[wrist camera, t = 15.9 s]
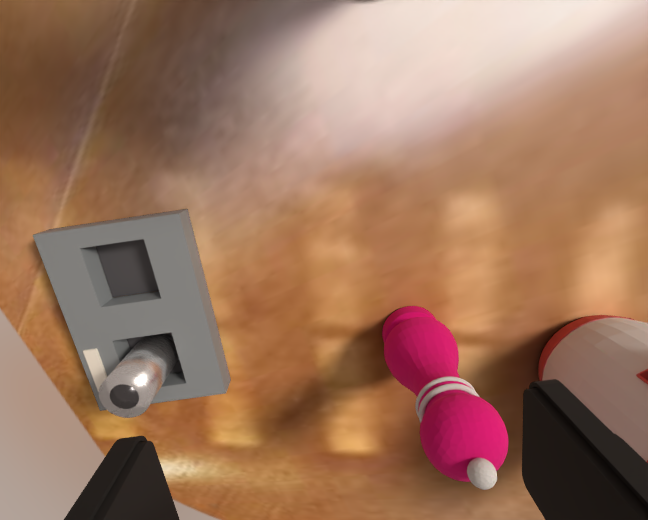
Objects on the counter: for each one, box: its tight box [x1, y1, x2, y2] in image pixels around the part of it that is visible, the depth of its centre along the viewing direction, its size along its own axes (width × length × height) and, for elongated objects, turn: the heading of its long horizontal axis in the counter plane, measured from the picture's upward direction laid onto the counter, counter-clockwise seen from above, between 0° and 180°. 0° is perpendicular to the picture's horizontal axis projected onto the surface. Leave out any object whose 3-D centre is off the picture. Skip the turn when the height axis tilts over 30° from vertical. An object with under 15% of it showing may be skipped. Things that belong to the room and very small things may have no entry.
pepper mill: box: [382, 306, 508, 490], centre depth 33 cm, size 7×7×20 cm
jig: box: [33, 209, 231, 411], centre depth 40 cm, size 20×14×3 cm
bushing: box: [99, 333, 179, 418], centre depth 38 cm, size 5×5×8 cm
